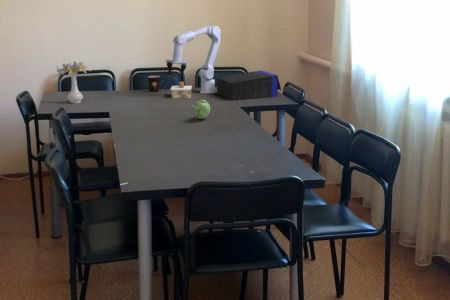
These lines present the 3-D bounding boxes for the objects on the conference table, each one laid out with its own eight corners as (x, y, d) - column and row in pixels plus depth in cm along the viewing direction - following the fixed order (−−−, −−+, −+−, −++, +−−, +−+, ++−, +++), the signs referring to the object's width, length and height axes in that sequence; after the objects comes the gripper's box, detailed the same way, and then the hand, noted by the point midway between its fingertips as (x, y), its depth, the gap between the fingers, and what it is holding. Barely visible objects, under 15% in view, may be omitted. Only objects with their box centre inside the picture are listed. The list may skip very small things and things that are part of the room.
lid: (191, 86, 379) (191, 80, 378) (191, 90, 366) (190, 83, 365) (172, 87, 379) (171, 80, 377) (170, 90, 366) (170, 83, 365)
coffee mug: (146, 92, 389) (145, 77, 387) (151, 89, 397) (150, 75, 395) (162, 92, 386) (161, 78, 383) (166, 90, 394) (166, 76, 391)
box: (191, 94, 380) (191, 87, 378) (190, 98, 368) (190, 90, 367) (172, 94, 379) (172, 87, 378) (171, 98, 368) (171, 90, 367)
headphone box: (281, 96, 372) (281, 74, 368) (231, 101, 359) (231, 78, 355) (265, 90, 394) (265, 69, 390) (217, 94, 381) (217, 72, 378)
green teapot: (187, 118, 313) (187, 98, 310) (206, 116, 317) (206, 96, 314) (195, 122, 302) (195, 102, 299) (215, 120, 307) (214, 100, 304)
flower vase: (58, 101, 358) (55, 61, 352) (88, 99, 364) (85, 60, 357) (59, 105, 347) (56, 64, 340) (90, 103, 352) (88, 62, 345)
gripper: (165, 52, 366) (162, 73, 369) (186, 55, 363) (184, 77, 365) (168, 52, 373) (166, 73, 375) (190, 55, 369) (187, 76, 372)
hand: (175, 75), depth 371 cm, fingers open, 7 cm apart
